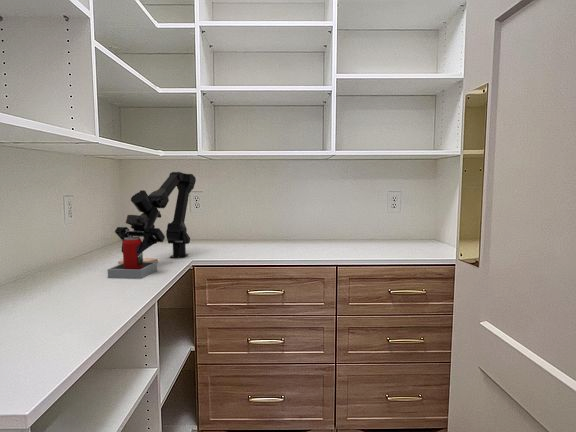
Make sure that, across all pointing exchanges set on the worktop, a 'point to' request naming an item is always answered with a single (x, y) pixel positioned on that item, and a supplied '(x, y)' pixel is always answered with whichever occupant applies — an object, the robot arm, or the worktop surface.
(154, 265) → the tray
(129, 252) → the beverage can
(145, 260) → the tile
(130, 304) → the worktop surface
